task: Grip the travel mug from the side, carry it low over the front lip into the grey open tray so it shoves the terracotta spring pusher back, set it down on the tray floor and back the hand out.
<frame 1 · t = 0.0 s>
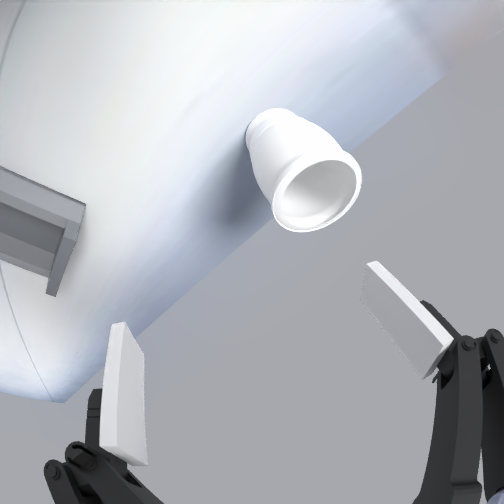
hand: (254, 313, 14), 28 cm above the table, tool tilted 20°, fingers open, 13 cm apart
jar: (272, 133, 36), on the table
grey open tray: (5, 207, 29), on the table
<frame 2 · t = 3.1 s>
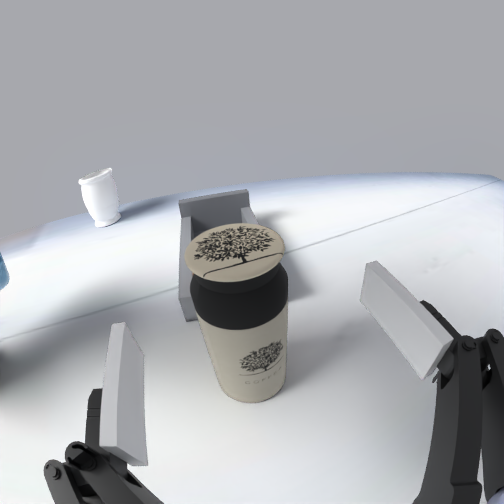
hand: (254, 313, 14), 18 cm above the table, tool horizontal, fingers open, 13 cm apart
travel mug: (252, 376, 30), on the table
jar: (108, 221, 72), on the table
grey open tray: (224, 260, 51), on the table
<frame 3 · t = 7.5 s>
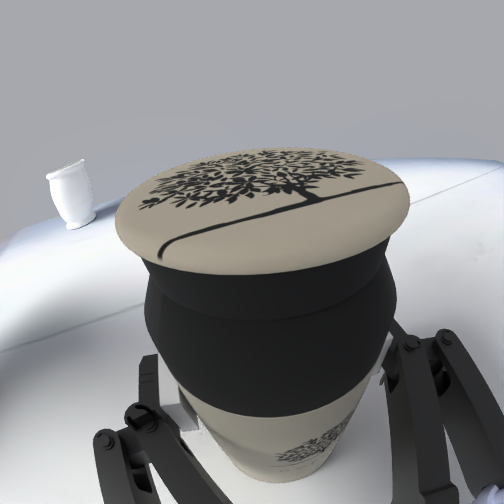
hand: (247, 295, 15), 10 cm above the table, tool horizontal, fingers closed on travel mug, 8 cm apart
travel mug: (279, 436, 16), on the table, touching gripper
jar: (81, 223, 58), on the table
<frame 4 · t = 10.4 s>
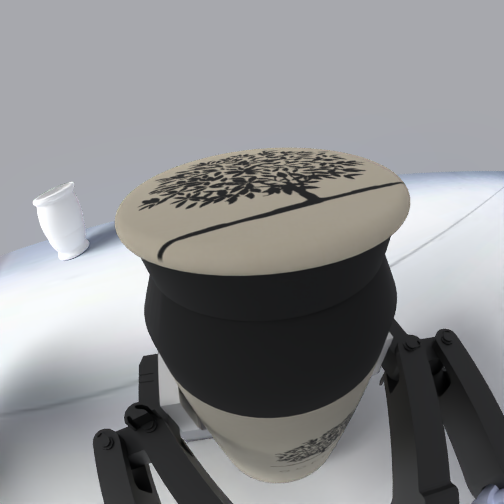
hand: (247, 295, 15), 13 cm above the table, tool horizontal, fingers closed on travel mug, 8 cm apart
travel mug: (279, 436, 16), point 3 cm above the table, touching gripper
jar: (74, 251, 53), on the table
grey open tray: (235, 319, 32), on the table
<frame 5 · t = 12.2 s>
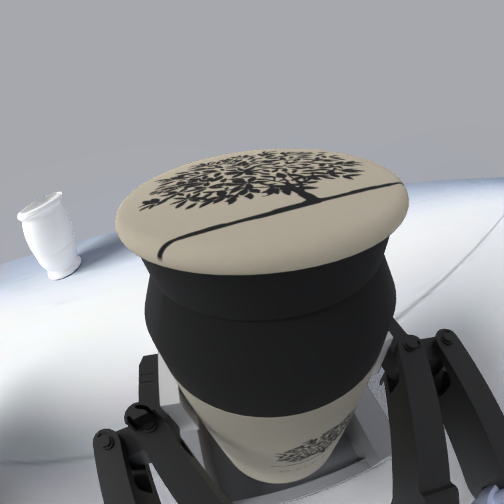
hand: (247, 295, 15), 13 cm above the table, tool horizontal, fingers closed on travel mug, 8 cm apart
travel mug: (280, 436, 16), point 3 cm above the table, touching gripper, pusher
jar: (65, 269, 46), on the table
grey open tray: (252, 371, 25), on the table
when the fingers open (12 cm above the table, at t = 13.3 s): travel mug stays where it is, resting on grey open tray, pusher.
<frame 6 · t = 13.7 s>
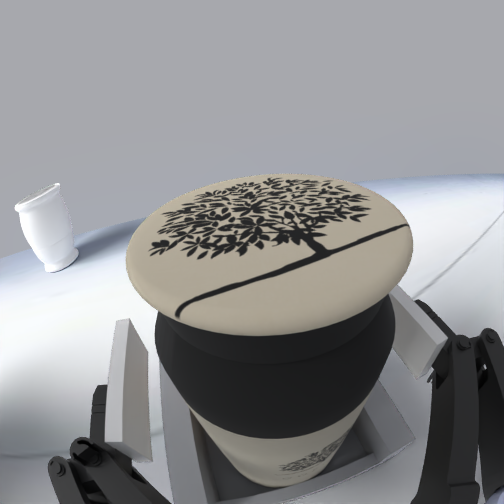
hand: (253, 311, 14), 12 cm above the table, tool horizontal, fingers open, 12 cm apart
travel mug: (281, 443, 17), resting on grey open tray, pusher
jar: (62, 262, 45), on the table
grey open tray: (251, 361, 24), on the table
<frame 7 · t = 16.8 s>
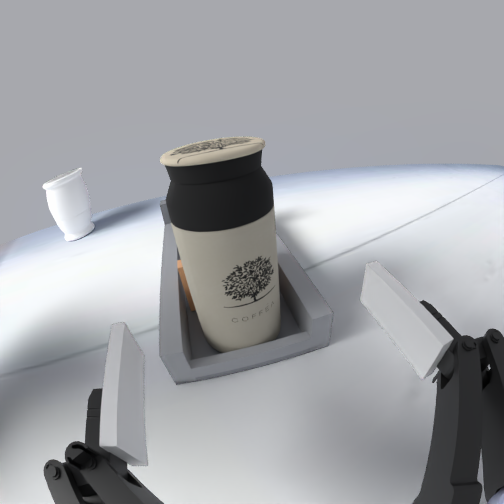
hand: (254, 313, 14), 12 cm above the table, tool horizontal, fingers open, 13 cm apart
travel mug: (242, 328, 28), resting on grey open tray, pusher
pusher: (228, 277, 30), point 4 cm above the table, slide at 7.0 cm, touching travel mug
jar: (80, 233, 56), on the table
grey open tray: (227, 281, 35), on the table
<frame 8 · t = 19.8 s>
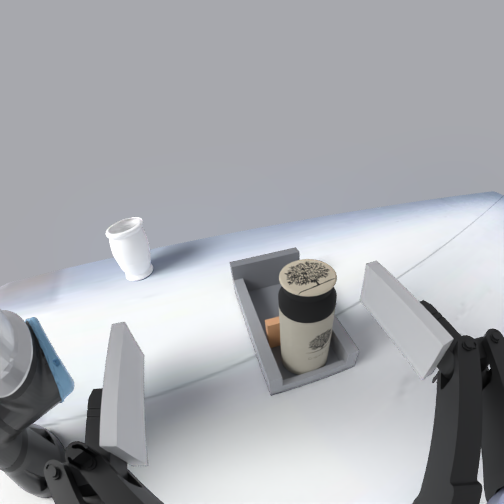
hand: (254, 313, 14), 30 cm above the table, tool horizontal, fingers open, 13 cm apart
travel mug: (304, 358, 44), resting on grey open tray, pusher
pusher: (294, 327, 46), point 4 cm above the table, slide at 7.0 cm, touching travel mug
jar: (140, 273, 73), on the table
grey open tray: (286, 325, 52), on the table
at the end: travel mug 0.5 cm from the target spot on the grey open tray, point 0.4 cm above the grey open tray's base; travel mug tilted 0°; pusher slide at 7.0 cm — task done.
